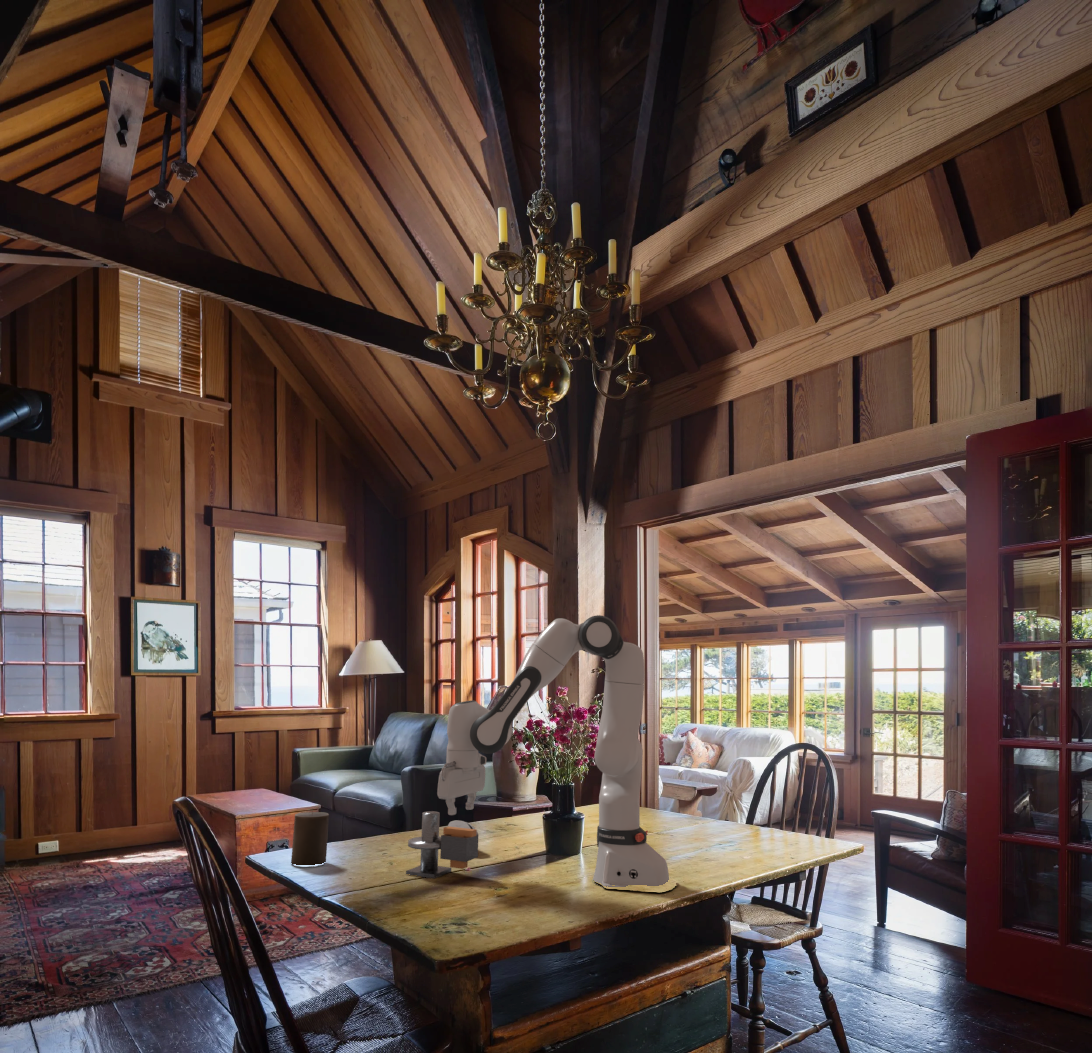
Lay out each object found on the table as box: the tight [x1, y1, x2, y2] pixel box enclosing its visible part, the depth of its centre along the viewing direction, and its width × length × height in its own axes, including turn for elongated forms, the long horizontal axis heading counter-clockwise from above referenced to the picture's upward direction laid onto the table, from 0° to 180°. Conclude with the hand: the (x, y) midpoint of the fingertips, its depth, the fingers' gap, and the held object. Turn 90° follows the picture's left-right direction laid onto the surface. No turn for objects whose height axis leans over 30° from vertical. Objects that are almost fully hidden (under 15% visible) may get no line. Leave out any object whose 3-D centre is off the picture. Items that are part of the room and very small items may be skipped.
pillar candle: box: [290, 809, 330, 865], centre depth 241 cm, size 10×10×15 cm
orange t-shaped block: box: [442, 825, 478, 870], centre depth 228 cm, size 9×2×10 cm, turn 65°
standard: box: [405, 810, 479, 880], centre depth 231 cm, size 20×12×16 cm, turn 65°
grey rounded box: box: [447, 819, 479, 835], centre depth 260 cm, size 17×5×10 cm, turn 30°
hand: (461, 812), depth 230 cm, fingers open, 8 cm apart
